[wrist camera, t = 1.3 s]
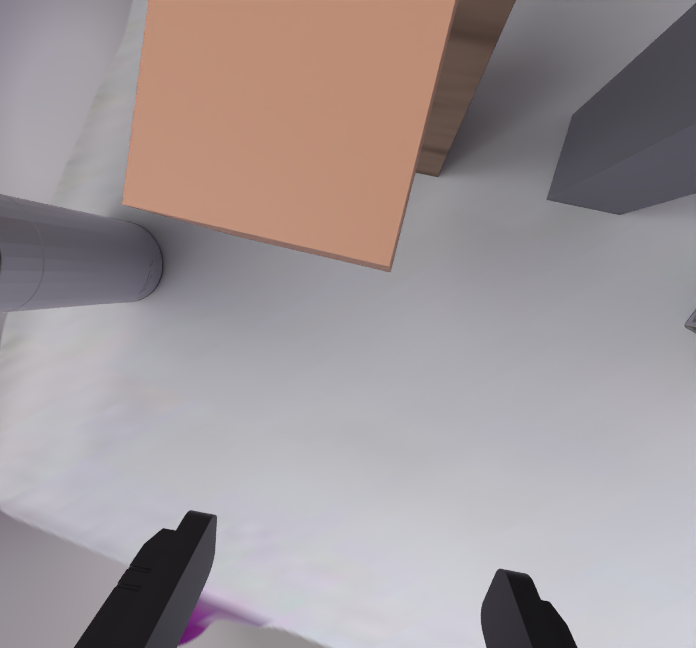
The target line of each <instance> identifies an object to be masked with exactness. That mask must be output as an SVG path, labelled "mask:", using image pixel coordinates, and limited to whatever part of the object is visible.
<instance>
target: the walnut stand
mask: <svg viewBox="0 0 696 648" xmlns="http://www.w3.org/2000/svg"><path fill="white" fill-rule="evenodd" d="M515 1H516V0H458V4H457V8H456V12H455V16H454V20H453V24H452V28H451V32H450V36H449V40H448V44H447V48H446V52H445V56H444V60H443V64H442V68H441V72H440V76H439V80H438V84H437V88H436V92H435V96H434V100H433V104H432V108H431V112H430V116H429V120H428V124H427V128H426V132H425V136H424V140H423V144H422V148H421V152H420V156H419V160H418V164H417V168H416V173H421V174H426V175H430V176H435V177H438V174H439V172H440V170H441V168H442V165H443V163H444V161H445V159H446V156H447V154H448V152H449V150H450V147H451V145H452V143H453V141H454V138H455V136H456V134H457V131H458V129H459V127H460V125H461V122H462V120H463V118H464V116H465V113H466V111H467V109H468V107H469V104H470V102H471V100H472V98H473V95H474V93H475V91H476V89H477V86H478V84H479V82H480V80H481V77H482V75H483V73H484V71H485V68H486V66H487V64H488V62H489V59H490V57H491V55H492V53H493V50H494V48H495V46H496V43H497V41H498V39H499V37H500V34H501V32H502V30H503V28H504V25H505V23H506V21H507V19H508V16H509V14H510V12H511V10H512V7H513V5H514V3H515Z"/></svg>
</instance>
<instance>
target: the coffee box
mask: <svg viewBox="0 0 696 648" xmlns="http://www.w3.org/2000/svg"><path fill="white" fill-rule="evenodd" d="M685 327H686V328H688V329H689V330H691V331H693V332H695V333H696V310H695V312H694V313H693V314H692V316H691V317H690V318H689V320H688V321H687V322H686V324H685Z"/></svg>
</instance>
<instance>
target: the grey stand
mask: <svg viewBox="0 0 696 648" xmlns="http://www.w3.org/2000/svg"><path fill="white" fill-rule="evenodd" d="M695 193H696V4H695V5H693V6H692V7H691V8H690V9H689V10H688V11H687V12H686V13H685V14H684V15H682V16H681V17H680V18H679V19H678V20H677V21H676V22H675V23H674V24H672V25H671V26H670V27H669V28H668V29H667V30H666V31H665V32H664V33H663V34H661V35H660V36H659V37H658V38H657V39H656V40H655V41H654V42H653V43H652V44H650V45H649V46H648V47H647V48H646V49H645V50H644V51H643V52H642V53H641V54H639V55H638V56H637V57H636V58H635V59H634V60H633V61H632V62H631V63H630V64H628V65H627V66H626V67H625V68H624V69H623V70H622V71H621V72H620V73H619V74H617V75H616V76H615V77H614V78H613V79H612V80H611V81H610V82H609V83H608V84H606V85H605V86H604V87H603V88H602V89H601V90H600V91H599V92H598V93H597V94H595V95H594V96H593V97H592V98H591V99H590V100H589V101H588V102H587V103H586V104H584V105H583V106H582V107H581V108H580V109H579V110H578V111H577V112H576V113H574V114H573V116H572V119H571V122H570V125H569V129H568V132H567V135H566V138H565V142H564V145H563V148H562V151H561V155H560V158H559V161H558V164H557V168H556V171H555V174H554V178H553V181H552V184H551V187H550V191H549V194H548V197H547V200H551V201H555V202H560V203H565V204H570V205H575V206H580V207H584V208H589V209H594V210H599V211H604V212H608V213H613V214H618V215H621V214H624V213H628V212H631V211H635V210H638V209H642V208H645V207H649V206H652V205H656V204H659V203H663V202H666V201H670V200H674V199H677V198H681V197H684V196H688V195H691V194H695Z"/></svg>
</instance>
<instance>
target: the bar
mask: <svg viewBox="0 0 696 648" xmlns="http://www.w3.org/2000/svg"><path fill="white" fill-rule="evenodd" d="M457 4H458V0H148V8H147V16H146V24H145V31H144V39H143V47H142V54H141V62H140V70H139V77H138V85H137V93H136V100H135V108H134V116H133V123H132V131H131V139H130V146H129V154H128V162H127V170H126V177H125V185H124V193H123V200H122V204H123V205H127V206H130V207H134V208H137V209H141V210H145V211H148V212H152V213H155V214H159V215H163V216H166V217H170V218H173V219H177V220H181V221H184V222H188V223H191V224H195V225H199V226H202V227H206V228H209V229H213V230H217V231H220V232H224V233H227V234H231V235H235V236H238V237H242V238H247V239H251V240H255V241H259V242H264V243H268V244H272V245H277V246H281V247H285V248H289V249H294V250H298V251H302V252H306V253H311V254H315V255H319V256H323V257H328V258H332V259H336V260H340V261H345V262H349V263H353V264H358V265H362V266H366V267H370V268H375V269H379V270H383V271H387V272H391V268H392V264H393V260H394V256H395V252H396V248H397V244H398V240H399V236H400V232H401V228H402V224H403V220H404V216H405V212H406V208H407V204H408V200H409V196H410V192H411V188H412V184H413V180H414V176H415V172H416V168H417V164H418V160H419V156H420V152H421V148H422V144H423V140H424V136H425V132H426V128H427V124H428V120H429V116H430V112H431V108H432V104H433V100H434V96H435V92H436V88H437V84H438V80H439V76H440V72H441V68H442V64H443V60H444V56H445V52H446V48H447V44H448V40H449V36H450V32H451V28H452V24H453V20H454V16H455V12H456V8H457Z"/></svg>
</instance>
